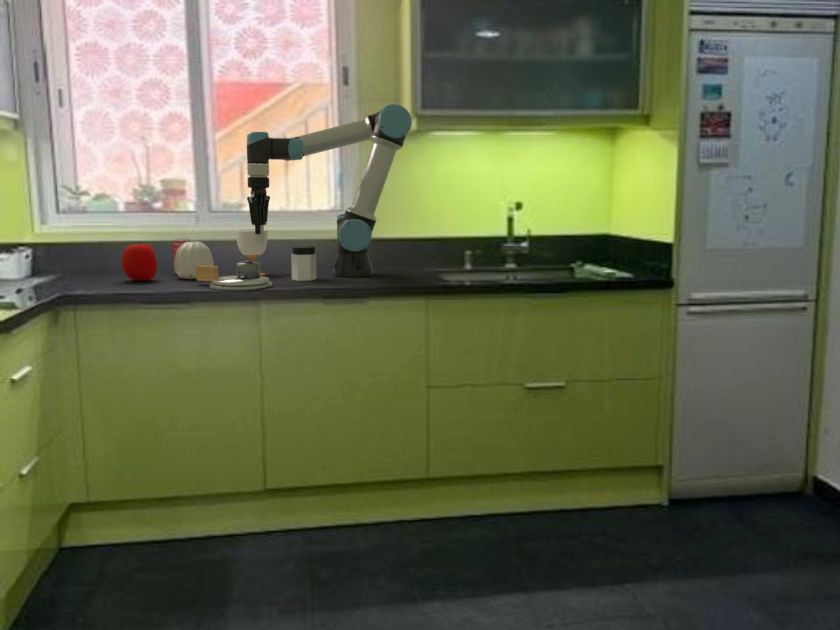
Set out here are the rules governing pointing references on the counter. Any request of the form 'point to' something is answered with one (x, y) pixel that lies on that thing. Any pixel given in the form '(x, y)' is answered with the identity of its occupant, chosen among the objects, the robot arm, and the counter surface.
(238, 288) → the base
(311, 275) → the jar
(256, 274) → the grey stone pot
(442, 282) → the counter surface
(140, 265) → the tomato
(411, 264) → the counter surface
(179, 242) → the soda can
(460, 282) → the counter surface
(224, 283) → the turntable
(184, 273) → the vase
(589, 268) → the counter surface
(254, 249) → the cup
